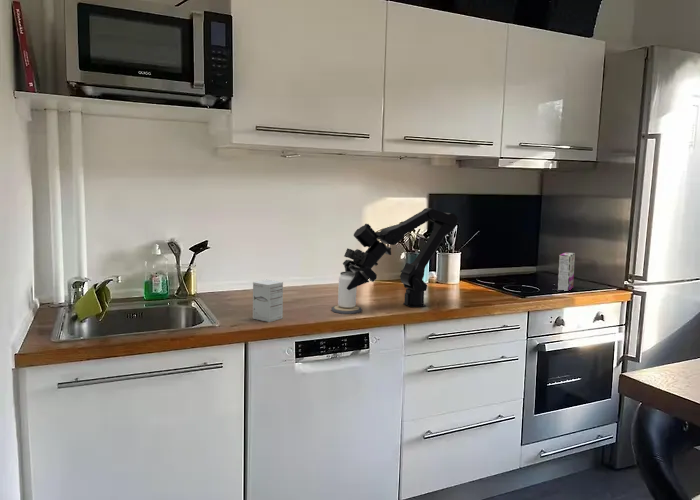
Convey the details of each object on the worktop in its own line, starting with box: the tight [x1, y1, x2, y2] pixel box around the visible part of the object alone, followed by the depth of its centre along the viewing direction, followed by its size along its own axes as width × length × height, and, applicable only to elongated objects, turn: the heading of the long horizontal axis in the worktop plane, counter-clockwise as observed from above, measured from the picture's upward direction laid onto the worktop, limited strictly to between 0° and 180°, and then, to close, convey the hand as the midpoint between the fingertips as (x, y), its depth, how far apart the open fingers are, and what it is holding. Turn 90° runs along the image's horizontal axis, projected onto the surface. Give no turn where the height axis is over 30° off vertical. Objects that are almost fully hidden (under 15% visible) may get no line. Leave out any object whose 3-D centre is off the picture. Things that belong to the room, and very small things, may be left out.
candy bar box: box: [557, 252, 576, 292], centre depth 254 cm, size 11×5×16 cm, turn 148°
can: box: [337, 271, 358, 308], centre depth 205 cm, size 6×6×12 cm
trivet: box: [331, 304, 363, 315], centre depth 206 cm, size 11×11×1 cm
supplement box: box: [252, 279, 284, 323], centre depth 191 cm, size 7×7×13 cm
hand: (344, 287), depth 204 cm, fingers closed on can, 6 cm apart
